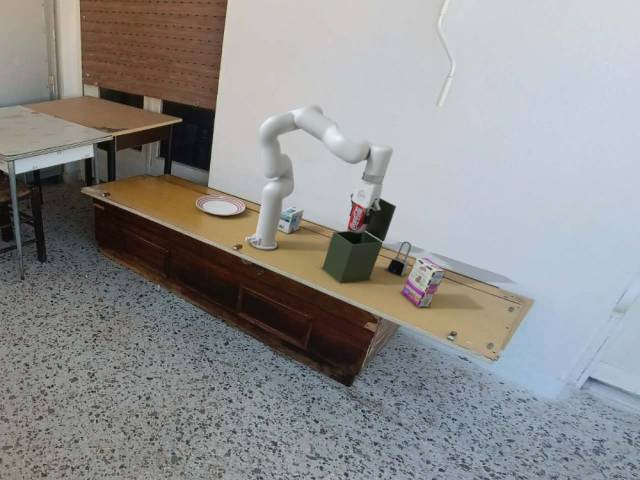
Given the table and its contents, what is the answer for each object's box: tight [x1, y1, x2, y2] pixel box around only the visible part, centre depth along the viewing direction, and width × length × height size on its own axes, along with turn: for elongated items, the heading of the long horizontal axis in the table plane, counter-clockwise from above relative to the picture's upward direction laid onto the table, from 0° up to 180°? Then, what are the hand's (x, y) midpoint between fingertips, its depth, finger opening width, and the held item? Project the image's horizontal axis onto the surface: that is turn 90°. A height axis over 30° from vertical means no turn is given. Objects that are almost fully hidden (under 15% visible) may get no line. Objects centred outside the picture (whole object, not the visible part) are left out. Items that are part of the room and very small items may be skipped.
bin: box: [322, 230, 384, 284], centre depth 195 cm, size 15×13×18 cm
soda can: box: [347, 204, 371, 233], centre depth 187 cm, size 7×7×12 cm
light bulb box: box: [277, 205, 304, 234], centre depth 235 cm, size 11×7×11 cm, turn 129°
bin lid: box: [365, 197, 397, 243], centre depth 188 cm, size 15×13×1 cm
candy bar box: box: [401, 257, 446, 308], centre depth 180 cm, size 11×5×16 cm, turn 5°
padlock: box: [386, 241, 412, 277], centre depth 199 cm, size 7×4×15 cm, turn 37°
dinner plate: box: [195, 194, 246, 217], centre depth 257 cm, size 28×27×3 cm
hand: (359, 219), depth 188 cm, fingers closed on soda can, 7 cm apart
